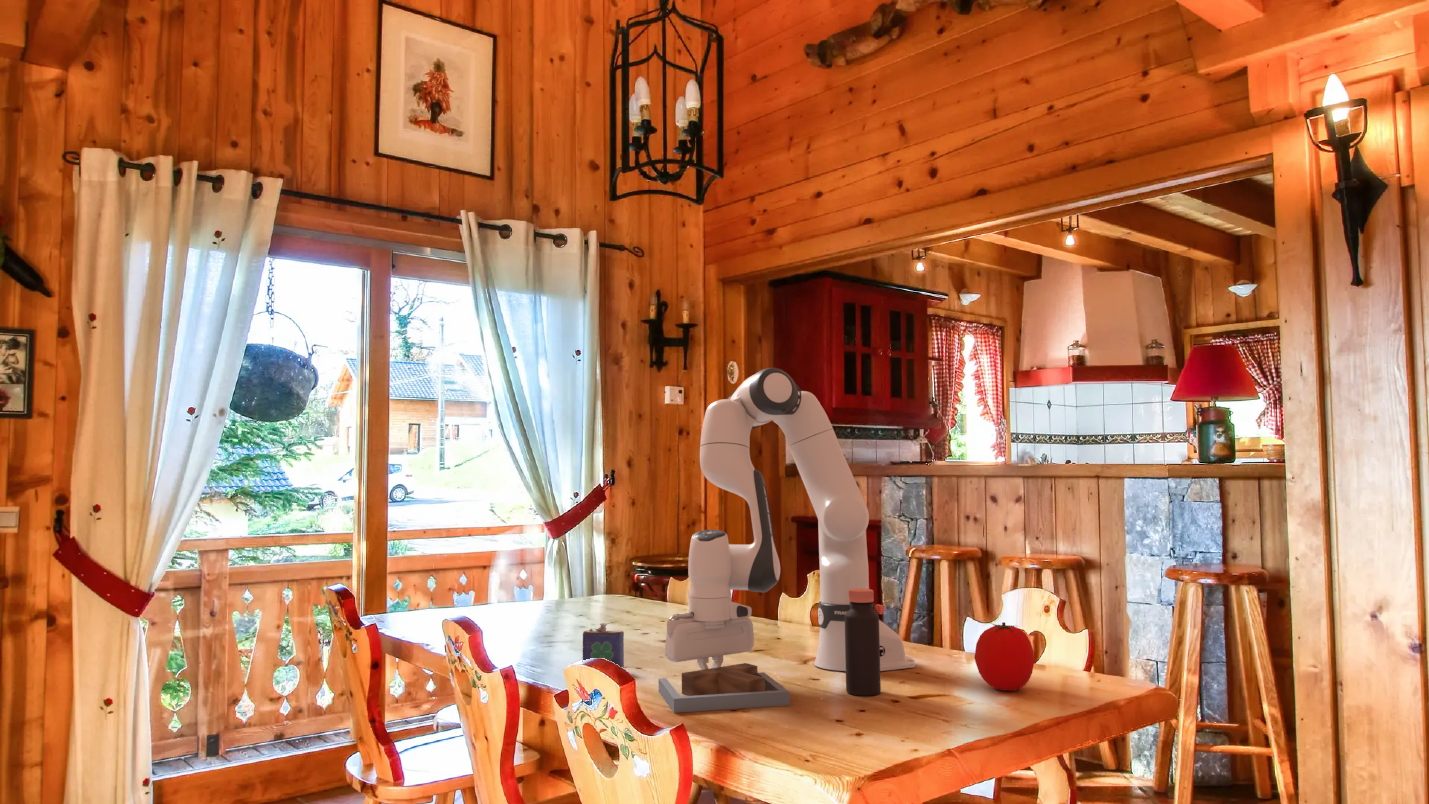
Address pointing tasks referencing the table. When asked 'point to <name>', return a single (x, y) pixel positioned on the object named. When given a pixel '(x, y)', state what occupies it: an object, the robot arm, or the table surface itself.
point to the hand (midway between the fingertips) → (710, 678)
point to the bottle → (862, 645)
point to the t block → (723, 680)
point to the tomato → (1004, 657)
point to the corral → (726, 698)
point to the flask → (604, 644)
